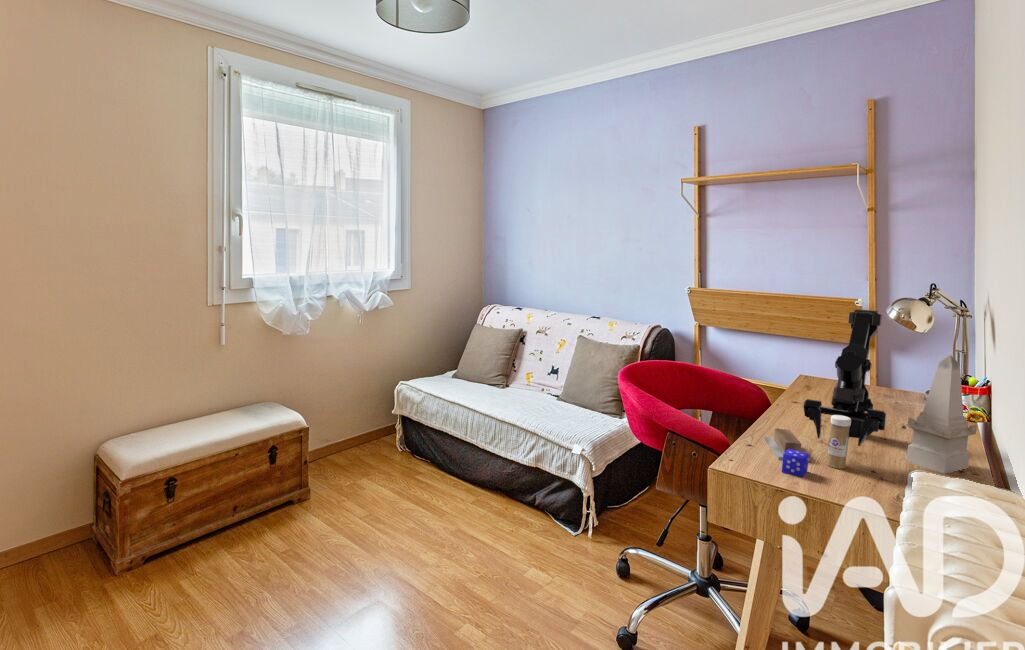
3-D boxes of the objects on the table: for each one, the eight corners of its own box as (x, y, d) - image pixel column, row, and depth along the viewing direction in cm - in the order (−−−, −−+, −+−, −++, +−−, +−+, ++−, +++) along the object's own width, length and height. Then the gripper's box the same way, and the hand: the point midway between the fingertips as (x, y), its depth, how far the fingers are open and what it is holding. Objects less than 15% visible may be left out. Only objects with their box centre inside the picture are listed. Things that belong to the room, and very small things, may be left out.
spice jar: (824, 466, 145) (829, 417, 143) (828, 461, 148) (832, 413, 146) (844, 470, 142) (849, 420, 140) (847, 465, 145) (852, 416, 143)
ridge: (793, 442, 163) (795, 428, 162) (810, 462, 147) (811, 447, 147) (764, 439, 164) (765, 425, 164) (778, 459, 149) (779, 444, 148)
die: (786, 466, 144) (787, 448, 144) (807, 471, 141) (809, 453, 141) (781, 472, 140) (783, 453, 140) (803, 477, 137) (804, 458, 137)
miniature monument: (970, 469, 144) (986, 357, 140) (944, 474, 140) (959, 359, 136) (928, 455, 154) (941, 350, 150) (903, 459, 150) (916, 352, 146)
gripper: (807, 370, 151) (796, 418, 144) (889, 380, 140) (881, 433, 132) (810, 392, 158) (799, 439, 151) (888, 404, 147) (880, 455, 140)
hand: (838, 441), depth 143 cm, fingers open, 9 cm apart
